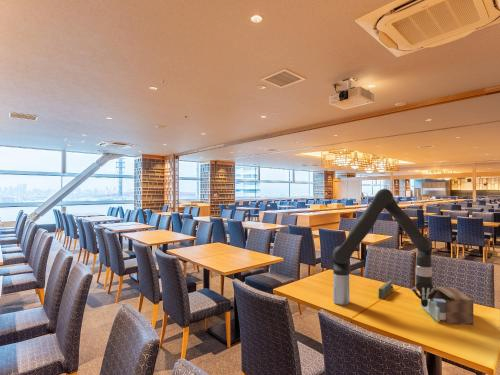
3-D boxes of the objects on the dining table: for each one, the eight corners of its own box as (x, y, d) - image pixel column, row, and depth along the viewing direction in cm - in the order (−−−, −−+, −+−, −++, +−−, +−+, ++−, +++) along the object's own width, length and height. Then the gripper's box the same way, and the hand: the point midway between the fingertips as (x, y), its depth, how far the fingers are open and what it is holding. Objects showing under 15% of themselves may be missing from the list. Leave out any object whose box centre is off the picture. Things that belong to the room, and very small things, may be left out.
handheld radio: (377, 298, 180) (389, 287, 199) (383, 300, 178) (394, 289, 196) (377, 287, 180) (389, 278, 198) (383, 289, 177) (394, 279, 196)
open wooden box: (447, 323, 145) (447, 298, 145) (429, 308, 164) (429, 286, 164) (473, 325, 144) (473, 300, 144) (452, 309, 162) (452, 287, 162)
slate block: (437, 313, 153) (437, 302, 153) (433, 309, 157) (433, 298, 158) (448, 314, 152) (448, 302, 152) (443, 310, 157) (443, 299, 157)
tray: (437, 321, 146) (437, 308, 146) (420, 306, 165) (420, 294, 165) (462, 322, 144) (462, 309, 144) (443, 307, 163) (443, 295, 163)
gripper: (433, 272, 158) (434, 304, 158) (408, 271, 160) (408, 302, 160) (440, 276, 151) (441, 309, 151) (413, 275, 153) (414, 308, 153)
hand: (424, 306), depth 156 cm, fingers closed
